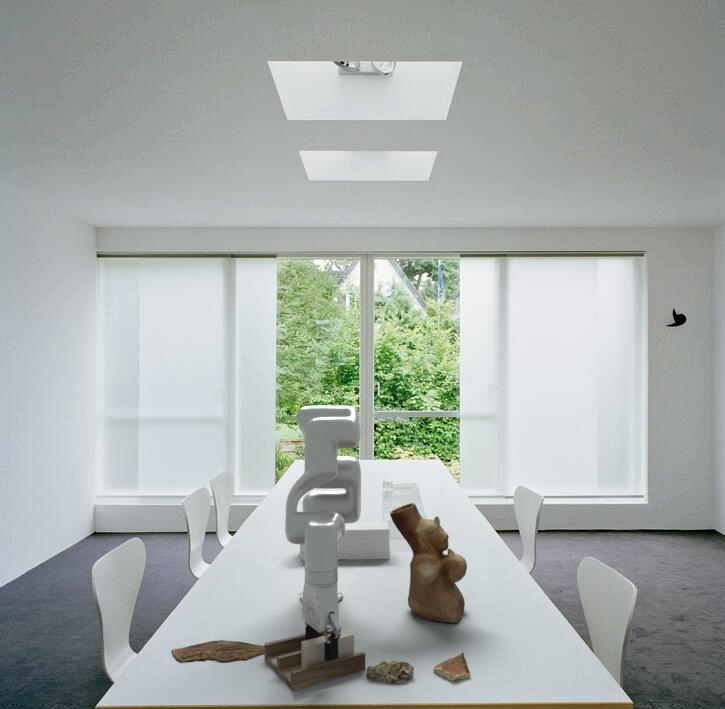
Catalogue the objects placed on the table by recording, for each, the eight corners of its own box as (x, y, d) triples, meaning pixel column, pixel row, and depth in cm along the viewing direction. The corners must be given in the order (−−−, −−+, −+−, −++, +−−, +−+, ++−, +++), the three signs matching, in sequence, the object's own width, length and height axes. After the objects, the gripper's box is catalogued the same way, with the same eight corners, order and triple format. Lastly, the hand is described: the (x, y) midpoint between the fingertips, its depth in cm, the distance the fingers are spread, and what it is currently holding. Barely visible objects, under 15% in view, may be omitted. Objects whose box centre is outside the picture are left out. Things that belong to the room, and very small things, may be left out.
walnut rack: (264, 659, 149) (264, 643, 149) (331, 641, 158) (331, 626, 158) (293, 690, 135) (293, 673, 135) (365, 669, 144) (365, 653, 144)
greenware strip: (301, 668, 142) (301, 641, 142) (347, 655, 148) (347, 629, 148) (307, 673, 139) (307, 646, 139) (354, 660, 145) (354, 634, 145)
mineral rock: (410, 655, 146) (415, 661, 138) (411, 676, 145) (416, 683, 137) (364, 658, 145) (366, 665, 138) (365, 679, 144) (367, 687, 136)
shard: (462, 658, 150) (462, 651, 150) (488, 670, 144) (488, 662, 144) (431, 673, 143) (431, 665, 143) (457, 686, 137) (457, 678, 137)
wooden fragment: (164, 664, 147) (164, 659, 147) (177, 643, 158) (177, 639, 158) (274, 663, 148) (274, 658, 148) (279, 642, 159) (279, 638, 159)
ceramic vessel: (461, 628, 165) (460, 514, 166) (382, 617, 173) (382, 508, 173) (472, 606, 180) (471, 502, 180) (399, 597, 188) (398, 496, 188)
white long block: (387, 550, 235) (386, 521, 235) (389, 559, 224) (389, 529, 224) (301, 551, 233) (301, 522, 233) (299, 561, 223) (299, 530, 223)
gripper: (290, 567, 149) (290, 639, 149) (323, 590, 134) (323, 670, 134) (319, 562, 153) (319, 632, 152) (354, 583, 138) (354, 662, 137)
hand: (321, 650), depth 143 cm, fingers open, 9 cm apart
